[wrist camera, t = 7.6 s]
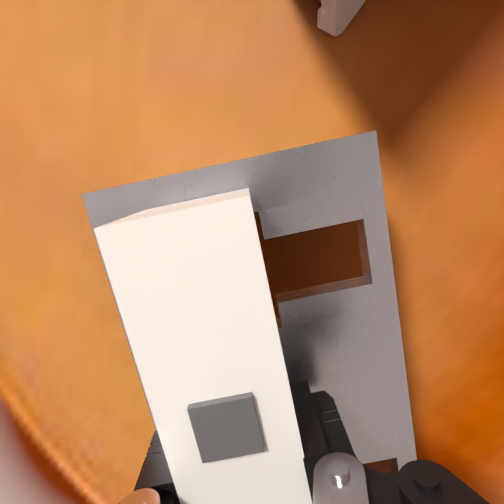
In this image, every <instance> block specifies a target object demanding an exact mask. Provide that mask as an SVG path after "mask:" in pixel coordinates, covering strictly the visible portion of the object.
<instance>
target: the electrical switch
mask: <svg viewBox="0 0 504 504" xmlns="http://www.w3.org/2000/svg"><path fill="white" fill-rule="evenodd" d="M318 1H319V2H321V8H319V9H318V26H317V27H318V28H320V29H322V30H324V31H325V32H327V33H329V34H331V35H333V36H338V35H340V34H341V33H342V32H343V31H344V30H345V29H346V27H347V26H348V25H349V23H350V22H351V20H352V19H353V18H354V16H355V15H356V14H357V12H358V11H359V10H360V8H361V7H362V5H363V4H364V3H365V1H366V0H318Z"/></svg>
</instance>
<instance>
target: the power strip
mask: <svg viewBox="0 0 504 504" xmlns="http://www.w3.org/2000/svg"><path fill="white" fill-rule="evenodd" d="M94 232H95V235H96V238H97V241H98V244H99V248H100V251H101V254H102V257H103V260H104V263H105V267H106V270H107V273H108V276H109V279H110V282H111V286H112V289H113V292H114V295H115V298H116V301H117V305H118V308H119V311H120V314H121V317H122V320H123V324H124V327H125V330H126V333H127V336H128V339H129V343H130V346H131V349H132V352H133V355H134V358H135V362H136V365H137V368H138V371H139V374H140V377H141V381H142V384H143V387H144V390H145V393H146V396H147V400H148V403H149V406H150V409H151V412H152V415H153V419H154V422H155V425H156V428H157V431H158V434H159V438H160V441H161V444H162V447H163V450H164V453H165V457H166V460H167V463H168V466H169V469H170V472H171V476H172V479H173V482H174V485H175V488H176V491H177V495H178V498H179V501H180V504H312V500H311V495H310V490H309V485H308V481H307V476H306V471H305V466H304V462H303V458H304V453H303V448H302V443H301V438H300V433H299V428H298V423H297V418H296V413H295V408H294V404H293V399H292V394H291V389H290V384H289V379H288V374H287V369H286V364H285V360H284V355H283V350H282V345H281V340H280V336H279V331H278V326H277V321H276V316H275V312H274V307H273V302H272V297H271V292H270V288H269V283H268V278H267V273H266V268H265V264H264V259H263V254H262V249H261V244H260V240H259V235H258V230H257V225H256V220H255V216H254V211H253V206H252V201H251V196H250V192H249V188H245V189H240V190H236V191H231V192H226V193H222V194H217V195H212V196H208V197H203V198H198V199H194V200H189V201H184V202H180V203H175V204H170V205H166V206H161V207H156V208H151V209H147V210H143V211H141V212H138V213H135V214H133V215H130V216H127V217H124V218H122V219H119V220H116V221H113V222H111V223H108V224H105V225H102V226H100V227H97V228H94Z"/></svg>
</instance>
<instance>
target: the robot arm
mask: <svg viewBox="0 0 504 504" xmlns="http://www.w3.org/2000/svg"><path fill="white" fill-rule="evenodd" d="M289 384H290V389H291V394H292V399H293V404H294V408H295V413H296V418H297V423H298V428H299V433H300V438H301V443H302V448H303V453H304V458H303V462H304V466H305V471H306V476H307V481H308V485H309V490H310V495H311V500H312V504H489V503H488V502H487V501H486V500H484V499H483V498H482V497H481V496H479V495H478V494H477V493H476V492H474V491H473V490H472V489H471V488H469V487H468V486H467V485H466V484H464V483H463V482H462V481H461V480H460V479H458V478H457V477H456V476H455V475H453V474H452V473H451V472H450V471H448V470H447V469H446V468H444V467H443V466H441V465H439V464H437V463H434V462H431V461H427V460H414V461H410V462H408V463H406V464H405V465H403V466H402V467H401V469H400V470H399V473H398V474H390V473H382V472H378V471H374V470H372V469H370V468H368V467H366V466H365V465H363V464H362V463H361V462H360V461H359V460H358V459H357V457H356V455H355V453H354V451H353V448H352V446H351V443H350V440H349V438H348V435H347V433H346V430H345V427H344V425H343V422H342V420H341V417H340V414H339V412H338V409H337V407H336V404H335V401H334V399H333V398H332V397H331V396H330V395H329V394H328V393H327V392H326V391H324V390H323V391H318V392H313V393H311V391H310V388H309V384H308V381H307V379H304V380H299V381H293V382H289ZM118 504H180V501H179V498H178V495H177V491H176V488H175V485H174V482H173V479H172V476H171V472H170V469H169V466H168V463H167V460H166V457H165V453H164V450H163V447H162V444H161V441H160V438H159V434H158V431H157V430H156V431H155V432H154V435H153V438H152V441H151V444H150V447H149V449H148V452H147V457H146V458H145V460H144V463H143V466H142V469H141V472H140V475H139V477H138V480H137V483H136V486H135V489H134V491H133V492H132V493H130V494H129V495H127V496H126V497H125V498H123V499H122V500H121V501H120V502H119V503H118Z"/></svg>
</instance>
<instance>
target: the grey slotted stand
mask: <svg viewBox="0 0 504 504" xmlns="http://www.w3.org/2000/svg"><path fill="white" fill-rule="evenodd" d="M245 188H249V192H250V196H251V201H252V206H253V211H254V212H258V213H259V218H260V223H261V228H262V232H263V237H264V240H265V239H270V238H274V237H279V236H284V235H289V234H293V233H298V232H303V231H308V230H312V229H317V228H322V227H327V226H332V225H336V224H341V223H346V222H351V221H356V228H357V234H358V241H359V248H360V255H361V262H362V269H363V276H360V277H355V278H350V279H345V280H340V281H335V282H330V283H326V284H321V285H316V286H311V287H306V288H301V289H296V290H291V291H287V292H282V293H277V294H275V295H276V300H277V305H278V310H279V315H280V317H278V318H276V321H277V326H278V331H279V336H280V340H281V345H282V350H283V355H284V360H285V364H286V369H287V374H288V379H289V382H293V381H299V380H304V379H307V381H308V384H309V388H310V391H311V393H313V392H318V391H323V390H324V391H326V392H327V393H328V394H329V395H330V396H331V397H332V398H333V399H334V401H335V404H336V407H337V409H338V412H339V414H340V417H341V420H342V422H343V425H344V427H345V430H346V433H347V435H348V438H349V440H350V443H351V446H352V448H353V451H354V453H355V455H356V457H357V459H358V460H359V461H360V462H361V463H362V464H363V465H365V466H366V467H368V468H370V469H372V470H374V471H378V472H382V473H390V474H398V473H399V470H400V469H401V467H402V466H403V465H405V464H406V463H408V462H410V461H414V460H417V456H416V448H415V440H414V432H413V423H412V415H411V407H410V399H409V391H408V383H407V375H406V367H405V359H404V351H403V343H402V335H401V327H400V319H399V311H398V302H397V294H396V286H395V278H394V270H393V262H392V254H391V246H390V238H389V230H388V222H387V214H386V206H385V198H384V190H383V181H382V173H381V165H380V157H379V149H378V141H377V133H376V130H375V131H370V132H366V133H361V134H357V135H352V136H347V137H343V138H338V139H334V140H329V141H324V142H320V143H315V144H310V145H306V146H301V147H297V148H292V149H287V150H283V151H278V152H274V153H269V154H264V155H260V156H255V157H251V158H246V159H241V160H237V161H232V162H228V163H223V164H218V165H214V166H209V167H205V168H200V169H195V170H191V171H186V172H182V173H177V174H172V175H168V176H163V177H159V178H154V179H149V180H145V181H140V182H136V183H131V184H126V185H122V186H117V187H112V188H108V189H103V190H99V191H94V192H89V193H85V194H81V195H82V198H83V201H84V204H85V207H86V211H87V214H88V217H89V220H90V223H91V226H92V230H93V233H94V236H95V239H96V242H97V245H98V249H99V252H100V255H101V258H102V261H103V264H104V267H105V263H104V260H103V257H102V254H101V251H100V248H99V244H98V241H97V238H96V235H95V232H94V228H97V227H100V226H102V225H105V224H108V223H111V222H113V221H116V220H119V219H122V218H124V217H127V216H130V215H133V214H135V213H138V212H141V211H143V210H147V209H151V208H156V207H161V206H166V205H170V204H175V203H180V202H184V201H189V200H194V199H198V198H203V197H208V196H212V195H217V194H222V193H226V192H231V191H236V190H240V189H245ZM105 271H106V274H107V277H108V280H109V283H110V286H111V282H110V279H109V276H108V273H107V270H106V267H105ZM111 290H112V293H113V296H114V299H115V302H116V305H117V301H116V298H115V295H114V292H113V289H112V286H111ZM117 309H118V312H119V315H120V318H121V321H122V324H123V320H122V317H121V314H120V311H119V308H118V305H117ZM123 328H124V331H125V334H126V337H127V340H128V343H129V339H128V336H127V333H126V330H125V327H124V324H123ZM129 346H130V343H129ZM130 350H131V353H132V356H133V359H134V362H135V358H134V355H133V352H132V349H131V346H130ZM135 365H136V362H135ZM136 369H137V372H138V375H139V378H140V381H141V377H140V374H139V371H138V368H137V365H136ZM141 384H142V381H141ZM142 388H143V391H144V394H145V397H146V400H147V396H146V393H145V390H144V387H143V384H142ZM147 403H148V400H147ZM148 407H149V410H150V413H151V416H152V419H153V415H152V412H151V409H150V406H149V403H148ZM153 422H154V419H153ZM154 425H155V422H154ZM155 429H156V430H157V428H156V425H155Z"/></svg>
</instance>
